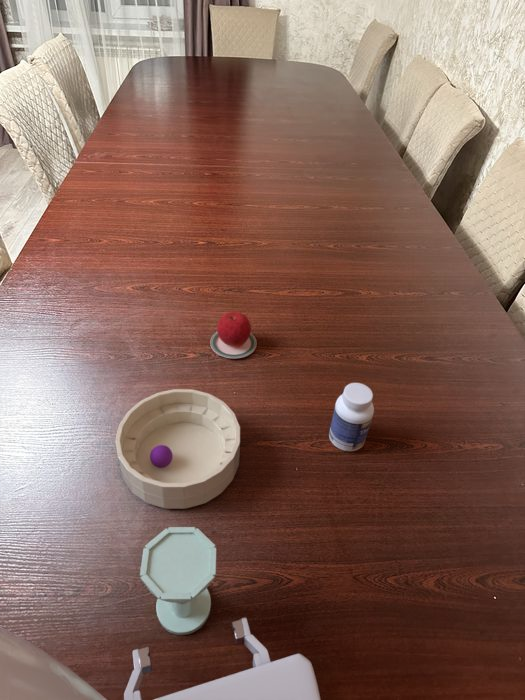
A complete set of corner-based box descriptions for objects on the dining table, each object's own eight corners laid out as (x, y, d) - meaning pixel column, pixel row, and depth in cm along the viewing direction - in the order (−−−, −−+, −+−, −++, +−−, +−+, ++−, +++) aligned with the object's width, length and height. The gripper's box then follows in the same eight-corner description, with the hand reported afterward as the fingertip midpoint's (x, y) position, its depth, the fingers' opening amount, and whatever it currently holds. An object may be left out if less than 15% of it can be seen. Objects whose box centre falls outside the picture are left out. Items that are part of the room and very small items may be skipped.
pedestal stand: (147, 642, 55) (136, 599, 48) (155, 574, 61) (146, 527, 53) (215, 640, 56) (214, 598, 48) (217, 574, 61) (217, 526, 54)
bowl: (111, 510, 66) (104, 486, 62) (131, 413, 78) (126, 387, 74) (238, 511, 67) (239, 487, 63) (239, 414, 79) (240, 390, 75)
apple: (202, 352, 89) (201, 322, 84) (222, 325, 94) (222, 296, 90) (245, 366, 87) (246, 336, 83) (263, 337, 93) (265, 308, 88)
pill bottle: (360, 457, 75) (374, 412, 68) (324, 445, 76) (334, 400, 69) (368, 430, 78) (381, 385, 72) (333, 419, 80) (344, 374, 73)
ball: (149, 444, 71) (146, 466, 71) (154, 443, 69) (151, 467, 68) (170, 446, 73) (168, 468, 72) (176, 446, 70) (173, 468, 69)
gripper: (354, 765, 41) (296, 592, 50) (82, 870, 36) (75, 655, 45) (342, 780, 45) (290, 617, 55) (97, 876, 40) (87, 678, 50)
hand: (190, 635), depth 50 cm, fingers open, 8 cm apart
